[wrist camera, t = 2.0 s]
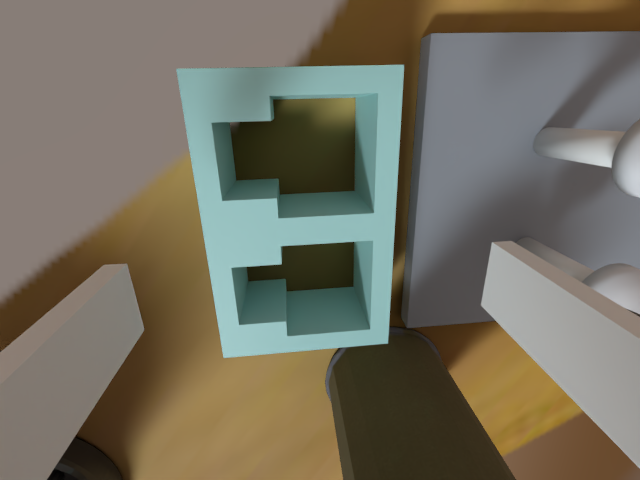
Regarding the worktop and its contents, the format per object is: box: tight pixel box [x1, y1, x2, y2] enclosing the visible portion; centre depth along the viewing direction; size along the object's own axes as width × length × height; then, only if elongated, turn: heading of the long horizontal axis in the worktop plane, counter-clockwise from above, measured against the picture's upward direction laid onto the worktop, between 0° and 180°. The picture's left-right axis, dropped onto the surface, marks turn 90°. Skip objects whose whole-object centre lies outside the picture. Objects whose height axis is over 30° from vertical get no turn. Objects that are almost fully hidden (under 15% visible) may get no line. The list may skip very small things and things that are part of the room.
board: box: [401, 31, 640, 328], centre depth 21 cm, size 22×20×9 cm
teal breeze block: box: [176, 65, 404, 358], centre depth 21 cm, size 10×16×6 cm, turn 1°
